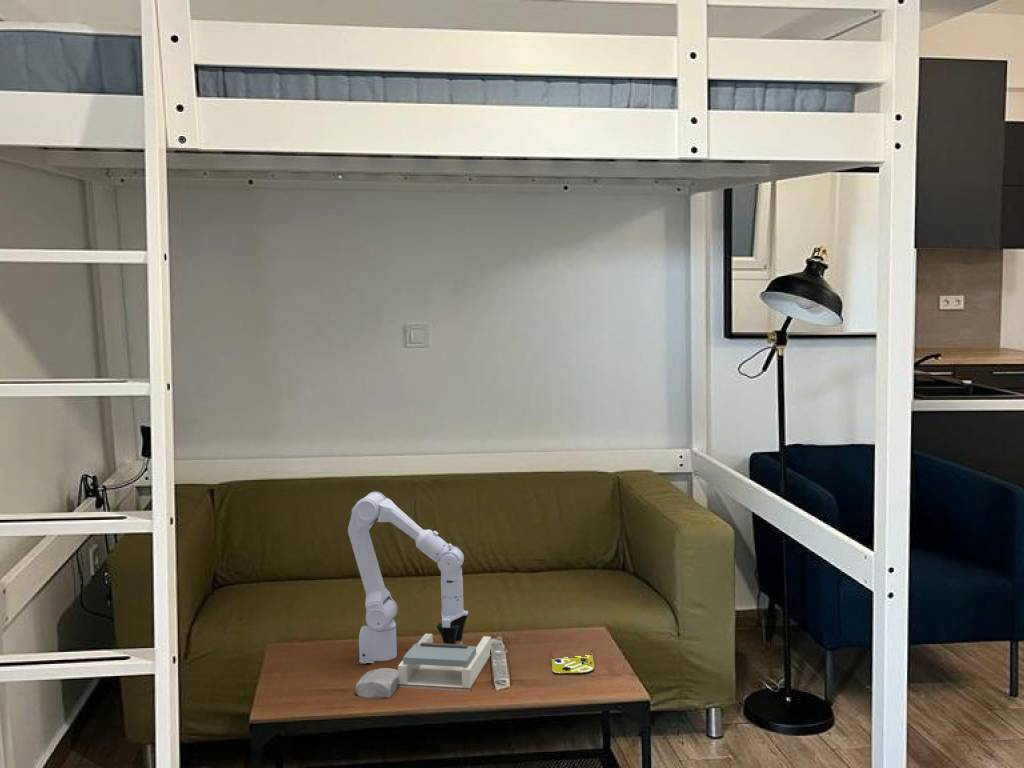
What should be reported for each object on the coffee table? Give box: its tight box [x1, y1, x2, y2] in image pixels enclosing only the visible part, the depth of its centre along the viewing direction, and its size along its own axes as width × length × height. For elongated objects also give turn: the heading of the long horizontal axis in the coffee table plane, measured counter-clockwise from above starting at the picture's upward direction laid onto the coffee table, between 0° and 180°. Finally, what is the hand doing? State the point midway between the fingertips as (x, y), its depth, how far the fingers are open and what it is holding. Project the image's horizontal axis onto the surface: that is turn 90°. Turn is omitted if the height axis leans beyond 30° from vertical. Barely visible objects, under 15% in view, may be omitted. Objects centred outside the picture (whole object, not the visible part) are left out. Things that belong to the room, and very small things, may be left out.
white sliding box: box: [397, 633, 492, 693], centre depth 256 cm, size 18×24×6 cm
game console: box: [551, 652, 596, 676], centre depth 262 cm, size 18×11×2 cm, turn 0°
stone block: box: [355, 667, 400, 699], centre depth 246 cm, size 12×5×10 cm
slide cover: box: [402, 642, 477, 667], centre depth 250 cm, size 16×10×2 cm, turn 79°
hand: (453, 645), depth 263 cm, fingers open, 7 cm apart
